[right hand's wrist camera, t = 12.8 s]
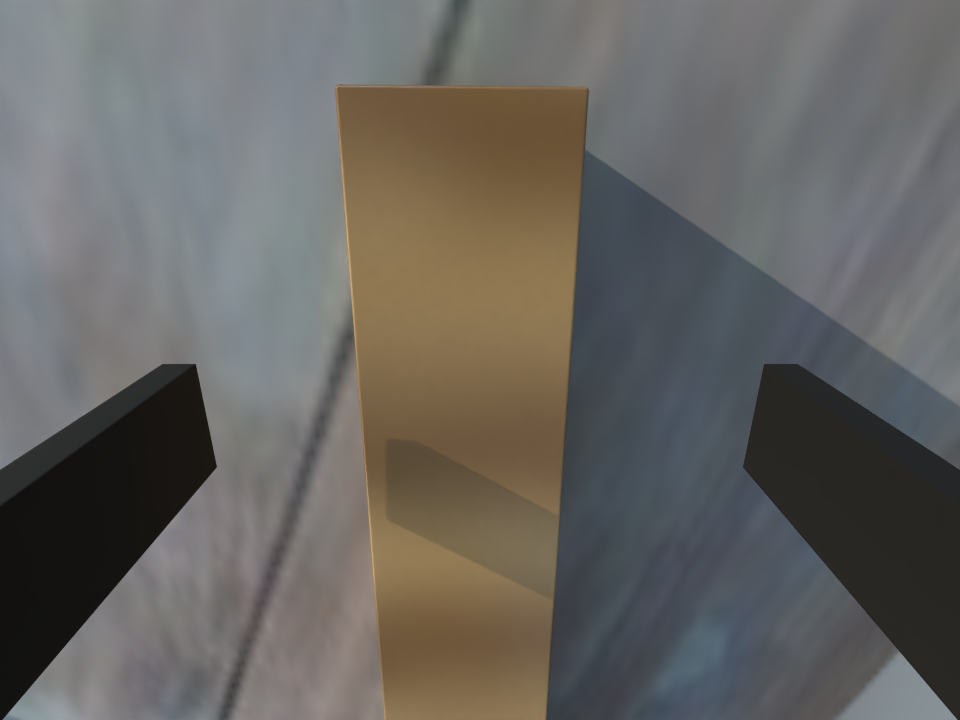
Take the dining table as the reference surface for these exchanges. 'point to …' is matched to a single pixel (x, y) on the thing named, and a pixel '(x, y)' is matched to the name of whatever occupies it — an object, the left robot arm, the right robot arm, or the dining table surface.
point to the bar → (463, 379)
